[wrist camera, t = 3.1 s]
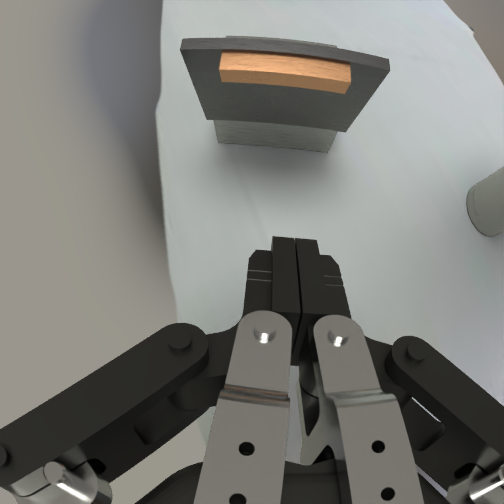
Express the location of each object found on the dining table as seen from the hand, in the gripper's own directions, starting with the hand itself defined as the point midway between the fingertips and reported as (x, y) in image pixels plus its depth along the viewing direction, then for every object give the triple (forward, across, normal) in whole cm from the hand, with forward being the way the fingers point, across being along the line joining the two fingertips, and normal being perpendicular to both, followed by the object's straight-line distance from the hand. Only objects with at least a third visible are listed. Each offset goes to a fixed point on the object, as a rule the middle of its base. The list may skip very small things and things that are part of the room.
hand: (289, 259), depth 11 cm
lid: (+23, 0, -4) cm, 24 cm away
